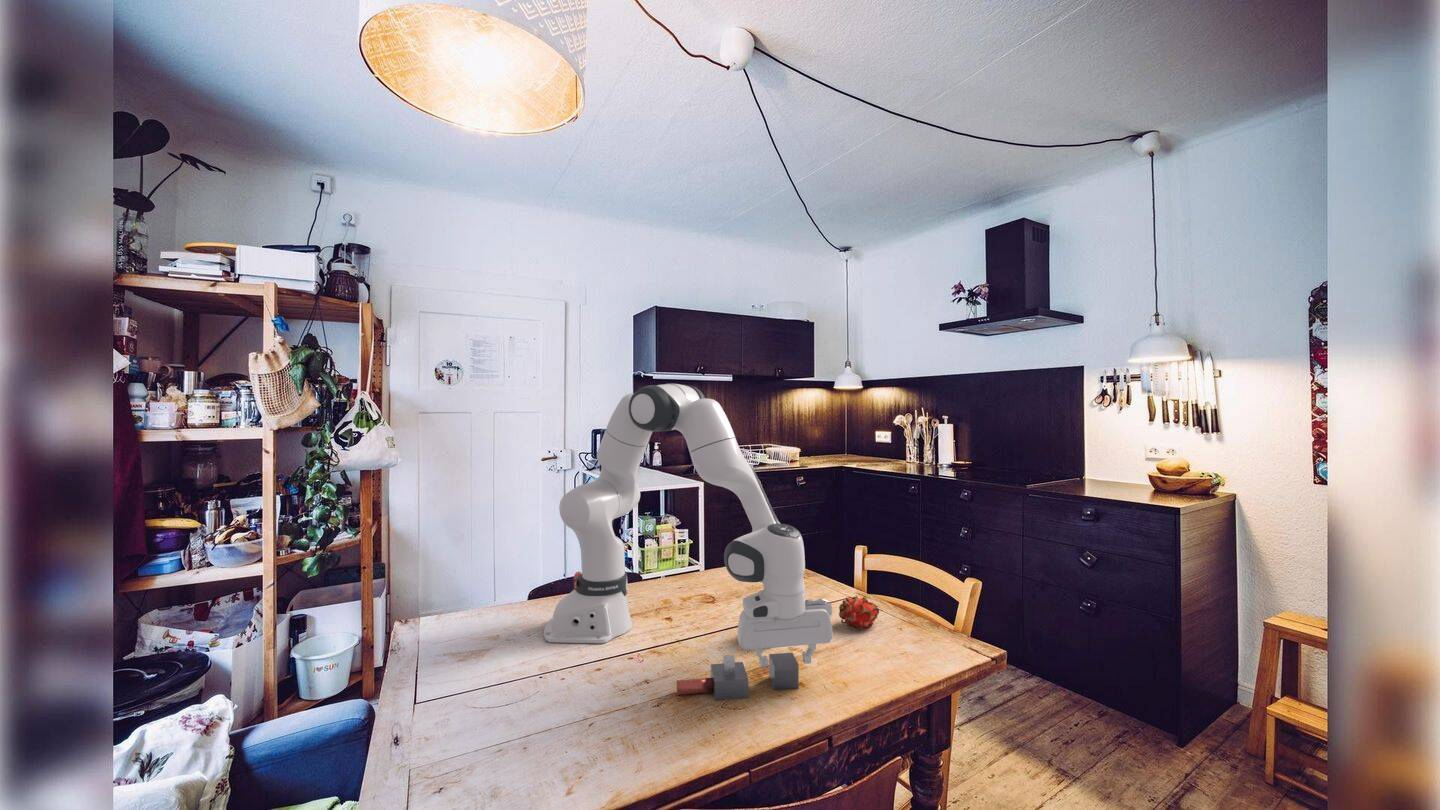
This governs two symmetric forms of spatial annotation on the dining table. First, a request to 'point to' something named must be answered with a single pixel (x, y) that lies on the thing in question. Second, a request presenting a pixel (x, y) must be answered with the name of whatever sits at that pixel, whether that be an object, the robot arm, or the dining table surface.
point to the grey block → (783, 671)
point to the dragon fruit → (858, 612)
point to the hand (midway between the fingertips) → (785, 664)
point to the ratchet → (719, 681)
